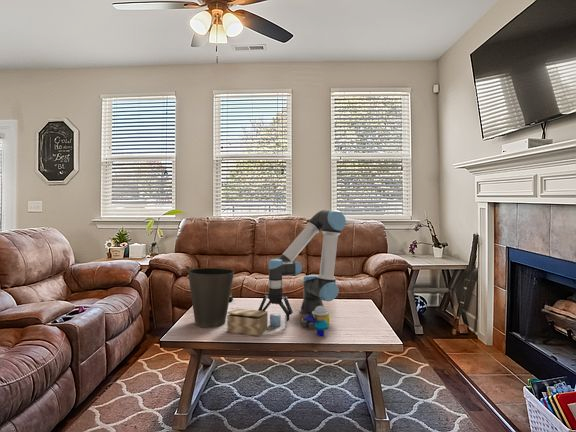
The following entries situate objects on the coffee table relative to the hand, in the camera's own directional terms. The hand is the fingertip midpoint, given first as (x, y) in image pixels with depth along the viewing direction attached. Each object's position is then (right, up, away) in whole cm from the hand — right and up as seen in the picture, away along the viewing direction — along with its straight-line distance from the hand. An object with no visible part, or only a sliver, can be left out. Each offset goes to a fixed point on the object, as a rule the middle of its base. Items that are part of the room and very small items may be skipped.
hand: (275, 325), depth 204 cm
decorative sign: (-46, +1, +54) cm, 71 cm away
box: (-14, 0, -9) cm, 17 cm away
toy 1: (+23, -1, +1) cm, 23 cm away
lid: (-14, +9, -9) cm, 19 cm away
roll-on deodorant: (0, 0, 0) cm, 0 cm away
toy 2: (+24, -1, -14) cm, 28 cm away
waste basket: (-37, 0, +4) cm, 37 cm away
